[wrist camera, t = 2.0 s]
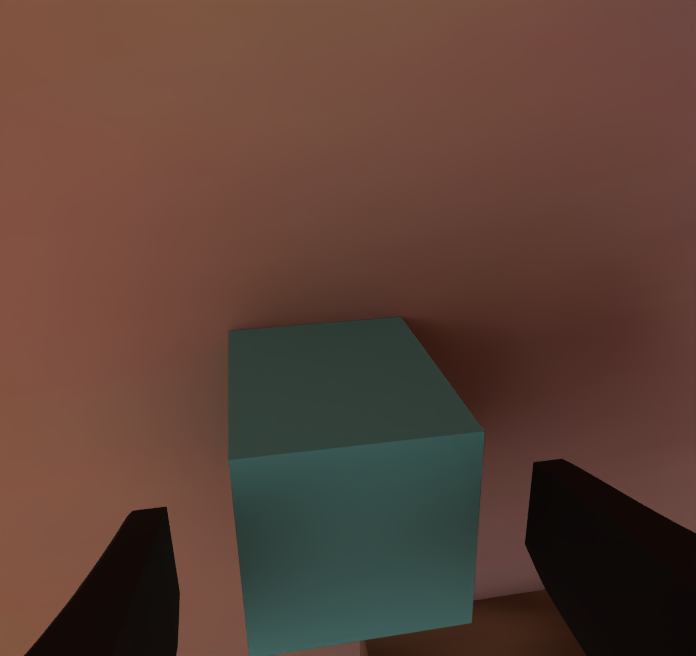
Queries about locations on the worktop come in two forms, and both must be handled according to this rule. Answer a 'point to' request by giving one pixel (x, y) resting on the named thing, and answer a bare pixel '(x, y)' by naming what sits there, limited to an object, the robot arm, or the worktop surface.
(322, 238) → the worktop surface
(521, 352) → the worktop surface
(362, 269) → the worktop surface
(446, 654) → the walnut base
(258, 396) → the teal block
